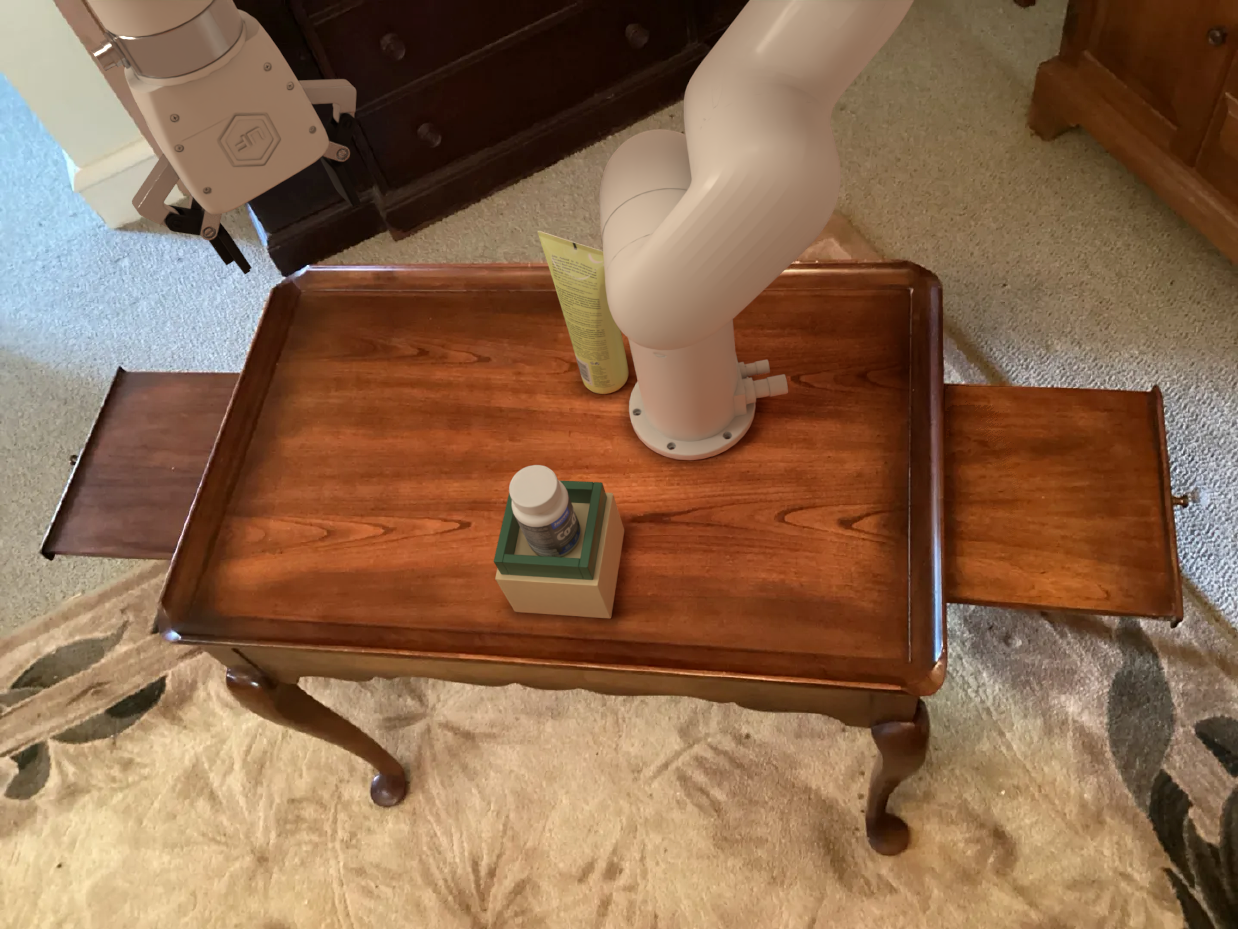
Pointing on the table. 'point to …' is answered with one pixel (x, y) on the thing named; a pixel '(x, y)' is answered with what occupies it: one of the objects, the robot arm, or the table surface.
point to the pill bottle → (544, 511)
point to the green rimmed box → (565, 560)
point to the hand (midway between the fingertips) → (296, 229)
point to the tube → (587, 312)
